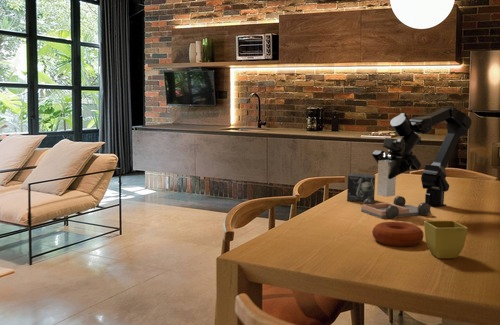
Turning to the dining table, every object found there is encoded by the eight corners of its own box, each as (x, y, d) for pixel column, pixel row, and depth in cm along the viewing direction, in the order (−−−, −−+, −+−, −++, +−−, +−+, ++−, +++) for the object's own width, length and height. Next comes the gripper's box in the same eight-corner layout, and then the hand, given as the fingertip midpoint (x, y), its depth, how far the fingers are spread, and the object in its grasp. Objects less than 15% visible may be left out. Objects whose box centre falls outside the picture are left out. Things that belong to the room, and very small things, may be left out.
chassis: (406, 206, 221) (406, 195, 220) (433, 214, 207) (434, 202, 206) (358, 210, 212) (359, 198, 211) (384, 219, 198) (384, 207, 197)
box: (346, 201, 229) (347, 175, 228) (348, 198, 236) (349, 173, 234) (373, 203, 226) (374, 177, 225) (374, 200, 233) (375, 174, 231)
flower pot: (421, 251, 159) (423, 220, 158) (451, 251, 160) (453, 220, 159) (434, 261, 151) (436, 228, 149) (466, 261, 151) (468, 227, 150)
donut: (432, 242, 170) (433, 226, 169) (406, 252, 159) (407, 234, 159) (389, 233, 180) (390, 217, 180) (361, 241, 170) (362, 224, 169)
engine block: (385, 193, 209) (386, 159, 208) (394, 195, 206) (396, 161, 204) (376, 194, 207) (378, 160, 205) (386, 196, 203) (388, 161, 201)
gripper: (376, 128, 213) (354, 159, 208) (417, 132, 198) (394, 165, 193) (389, 148, 218) (368, 179, 214) (430, 153, 203) (408, 186, 199)
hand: (384, 177), depth 205 cm, fingers closed on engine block, 4 cm apart
